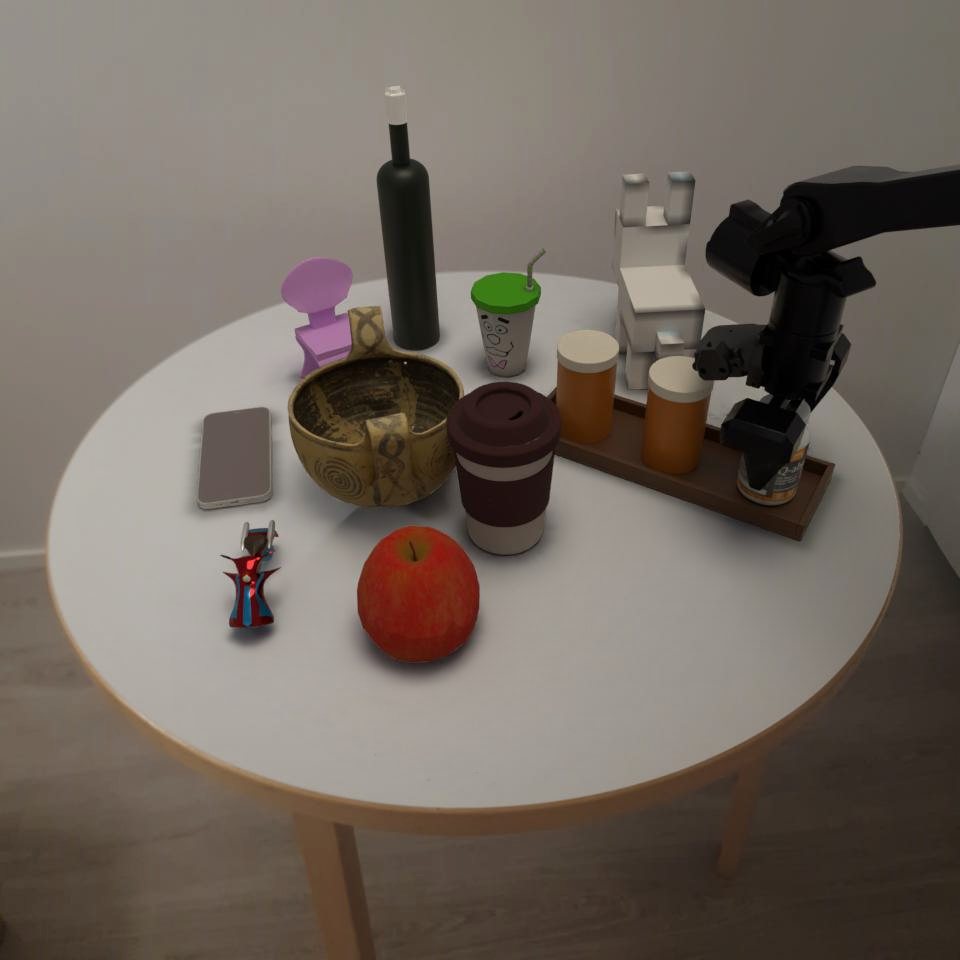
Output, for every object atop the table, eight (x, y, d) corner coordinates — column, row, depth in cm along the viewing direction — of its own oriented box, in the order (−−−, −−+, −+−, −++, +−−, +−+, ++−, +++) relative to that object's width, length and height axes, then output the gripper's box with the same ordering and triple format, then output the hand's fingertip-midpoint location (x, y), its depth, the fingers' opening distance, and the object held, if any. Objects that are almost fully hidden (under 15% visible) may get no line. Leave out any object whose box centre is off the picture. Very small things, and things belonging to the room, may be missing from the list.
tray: (831, 479, 91) (835, 463, 90) (800, 541, 85) (804, 525, 83) (563, 392, 104) (564, 378, 102) (518, 441, 97) (518, 426, 96)
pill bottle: (781, 516, 87) (802, 434, 80) (725, 493, 89) (741, 411, 83) (805, 484, 90) (827, 402, 83) (750, 462, 93) (768, 382, 86)
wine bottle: (447, 330, 114) (431, 81, 95) (428, 354, 110) (407, 99, 91) (406, 322, 116) (382, 76, 96) (385, 345, 112) (356, 94, 93)
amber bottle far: (622, 420, 99) (629, 339, 92) (596, 451, 95) (602, 369, 88) (571, 403, 101) (574, 323, 94) (544, 433, 97) (545, 352, 91)
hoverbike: (222, 647, 77) (207, 603, 73) (239, 547, 86) (226, 504, 83) (283, 642, 77) (271, 598, 74) (293, 543, 86) (283, 499, 83)
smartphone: (195, 505, 90) (202, 414, 101) (197, 511, 90) (204, 420, 101) (271, 494, 90) (270, 405, 101) (273, 501, 91) (271, 412, 102)
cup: (461, 374, 107) (455, 258, 97) (493, 342, 112) (491, 228, 102) (520, 392, 104) (520, 273, 94) (551, 358, 109) (553, 242, 99)
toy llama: (632, 402, 102) (648, 236, 89) (607, 321, 115) (618, 165, 102) (699, 399, 102) (724, 232, 89) (666, 317, 115) (685, 162, 102)
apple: (451, 569, 83) (444, 483, 76) (503, 648, 76) (501, 561, 69) (345, 609, 80) (329, 523, 73) (390, 696, 73) (376, 609, 66)
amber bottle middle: (710, 448, 94) (724, 366, 88) (687, 482, 91) (700, 399, 84) (654, 430, 97) (664, 349, 90) (630, 463, 93) (638, 380, 86)
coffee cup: (443, 506, 90) (434, 380, 80) (540, 487, 91) (542, 362, 82) (467, 577, 82) (460, 448, 73) (571, 555, 84) (578, 427, 74)
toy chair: (321, 416, 101) (299, 297, 92) (291, 379, 107) (268, 263, 97) (387, 393, 105) (373, 275, 95) (355, 357, 110) (339, 243, 100)
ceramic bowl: (490, 544, 85) (486, 416, 76) (309, 573, 83) (280, 446, 74) (451, 407, 102) (443, 287, 92) (298, 428, 100) (274, 308, 90)
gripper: (749, 252, 86) (725, 387, 97) (672, 346, 75) (654, 488, 85) (870, 280, 82) (831, 419, 92) (808, 385, 70) (771, 530, 80)
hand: (771, 460), depth 87 cm, fingers open, 9 cm apart
